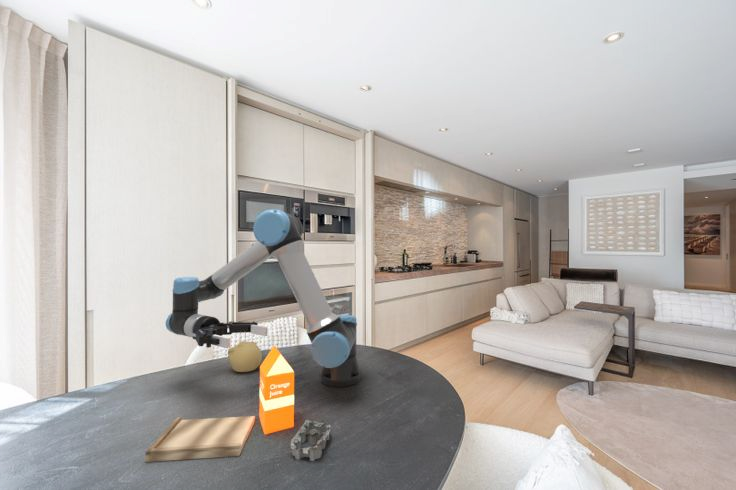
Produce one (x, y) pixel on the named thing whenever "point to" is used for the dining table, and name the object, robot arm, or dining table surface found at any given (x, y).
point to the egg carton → (315, 431)
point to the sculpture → (245, 356)
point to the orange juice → (276, 393)
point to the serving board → (201, 439)
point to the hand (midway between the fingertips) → (249, 337)
